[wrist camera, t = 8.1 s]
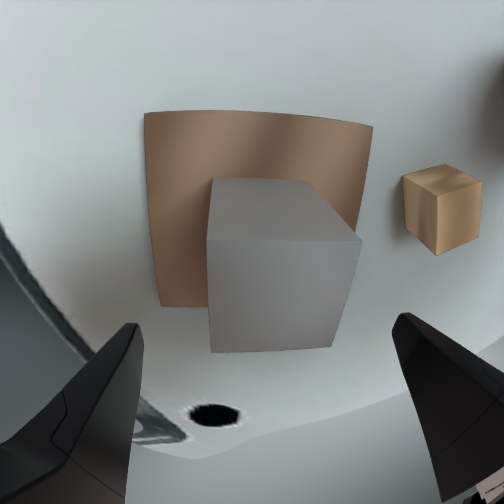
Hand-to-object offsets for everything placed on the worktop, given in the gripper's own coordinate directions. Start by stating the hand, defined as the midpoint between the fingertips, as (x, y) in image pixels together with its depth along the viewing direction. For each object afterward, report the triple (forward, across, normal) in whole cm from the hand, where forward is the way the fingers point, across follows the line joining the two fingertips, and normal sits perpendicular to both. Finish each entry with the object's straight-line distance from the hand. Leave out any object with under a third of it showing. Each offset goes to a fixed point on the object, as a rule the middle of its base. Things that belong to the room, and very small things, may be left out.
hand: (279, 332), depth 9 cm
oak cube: (+10, -12, -2) cm, 16 cm away
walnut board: (+9, 0, 0) cm, 9 cm away
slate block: (+8, 0, 0) cm, 8 cm away
